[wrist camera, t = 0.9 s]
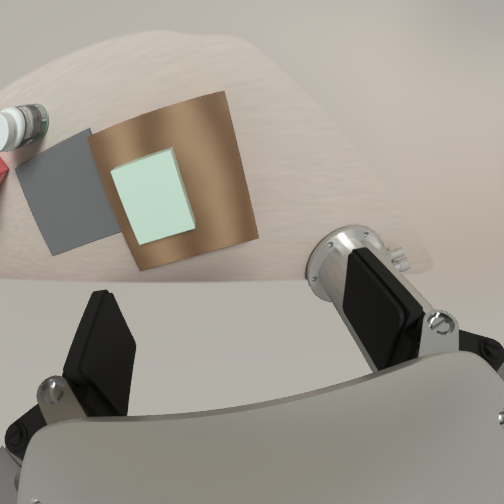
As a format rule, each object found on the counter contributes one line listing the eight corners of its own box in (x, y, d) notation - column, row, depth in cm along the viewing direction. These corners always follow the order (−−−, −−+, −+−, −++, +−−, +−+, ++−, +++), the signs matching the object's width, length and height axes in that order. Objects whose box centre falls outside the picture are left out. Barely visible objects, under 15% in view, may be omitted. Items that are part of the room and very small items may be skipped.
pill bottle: (17, 138, 24) (-23, 154, 16) (25, 101, 22) (-17, 107, 15) (45, 144, 25) (6, 160, 18) (54, 105, 23) (14, 111, 16)
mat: (89, 128, 26) (88, 128, 25) (126, 228, 32) (125, 229, 32) (16, 167, 25) (14, 168, 25) (53, 254, 32) (52, 255, 32)
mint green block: (172, 146, 25) (170, 150, 24) (195, 220, 29) (195, 228, 28) (116, 166, 25) (110, 171, 23) (142, 236, 29) (139, 244, 27)
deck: (221, 92, 27) (224, 90, 23) (252, 223, 35) (259, 238, 32) (99, 132, 26) (87, 137, 23) (145, 253, 35) (140, 271, 31)
